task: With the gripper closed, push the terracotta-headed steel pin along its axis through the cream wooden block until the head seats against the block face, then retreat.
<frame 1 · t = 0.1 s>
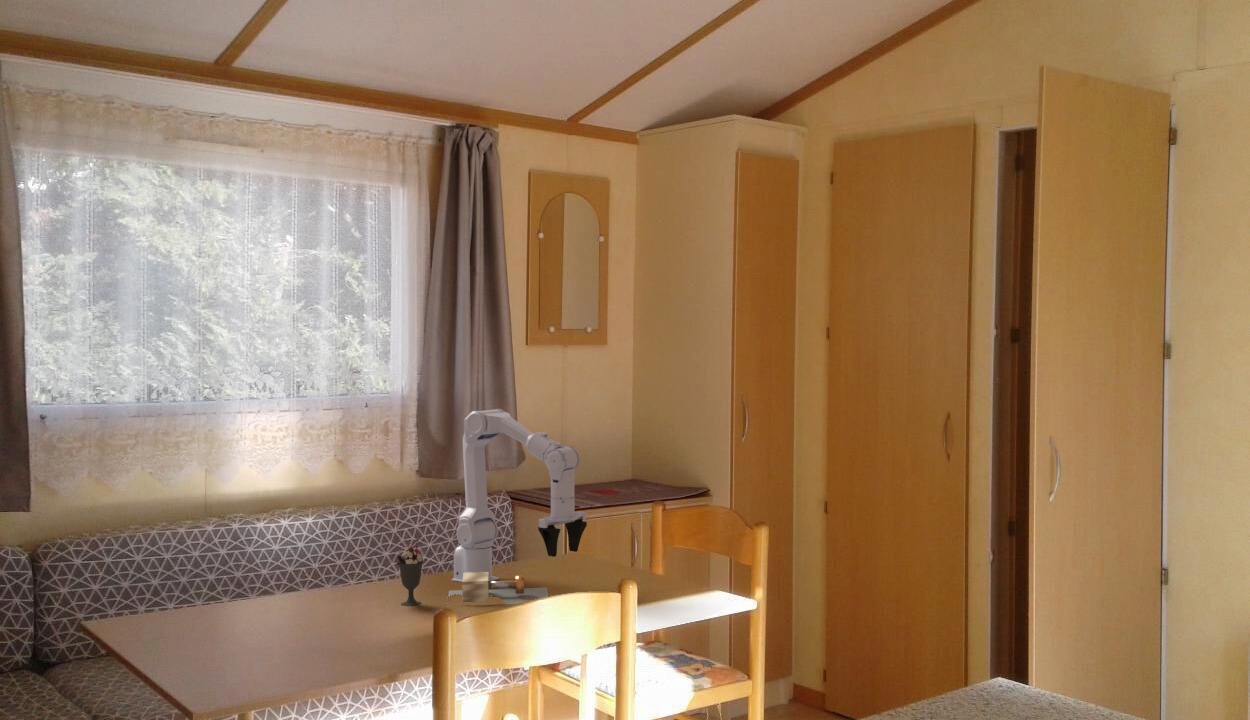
hand: (562, 553, 272), 10 cm above the table, fingers open, 7 cm apart
sundae: (411, 605, 264), on the table
hitch block: (475, 597, 269), resting on mat
mat: (498, 597, 270), on the table
pin: (503, 585, 270), point 3 cm above the table, slide at 0.0 cm
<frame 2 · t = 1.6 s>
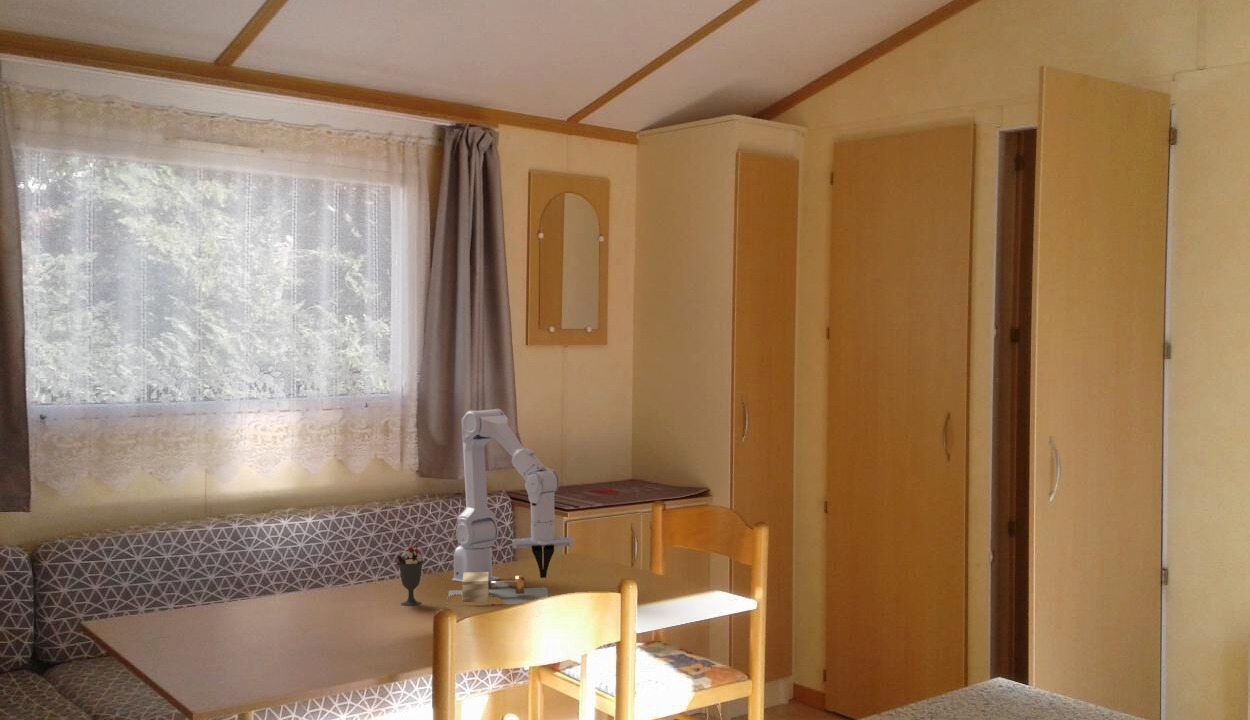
hand: (543, 577, 271), 5 cm above the table, fingers closed
nothing on the table moved.
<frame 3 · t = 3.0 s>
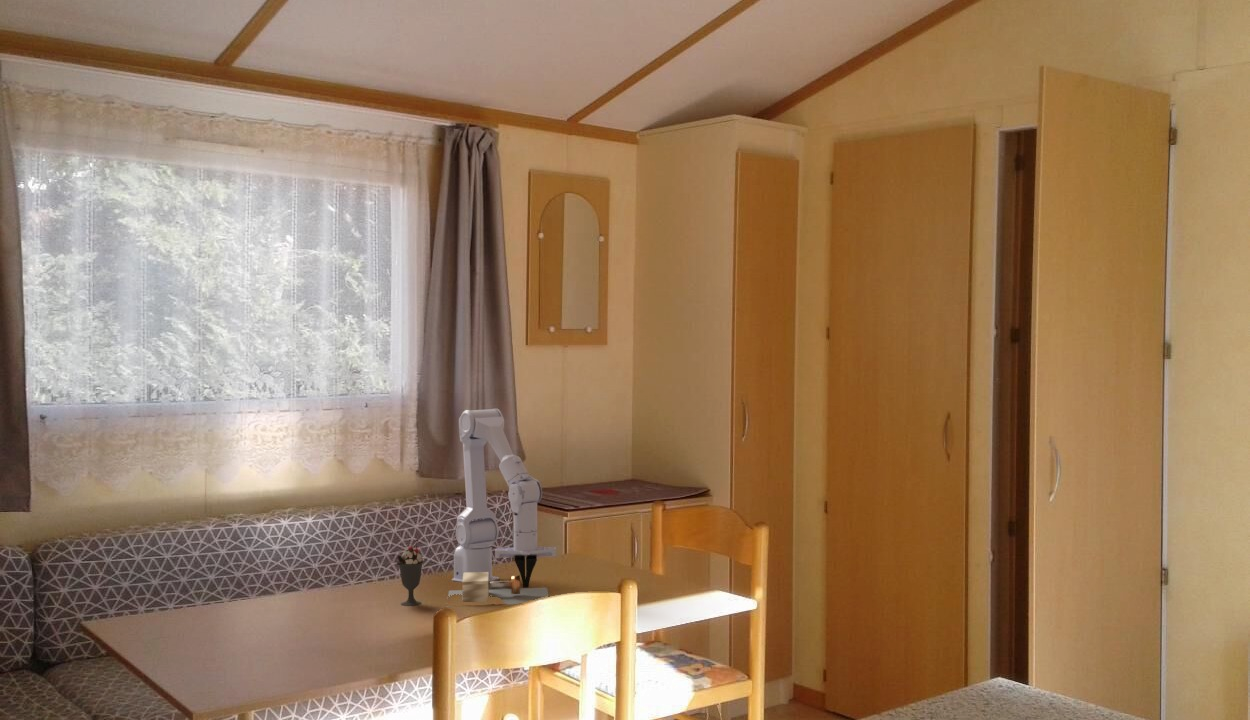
hand: (525, 586, 271), 2 cm above the table, fingers closed
pin: (498, 585, 270), point 3 cm above the table, slide at 1.0 cm, touching gripper
everything else where it was.
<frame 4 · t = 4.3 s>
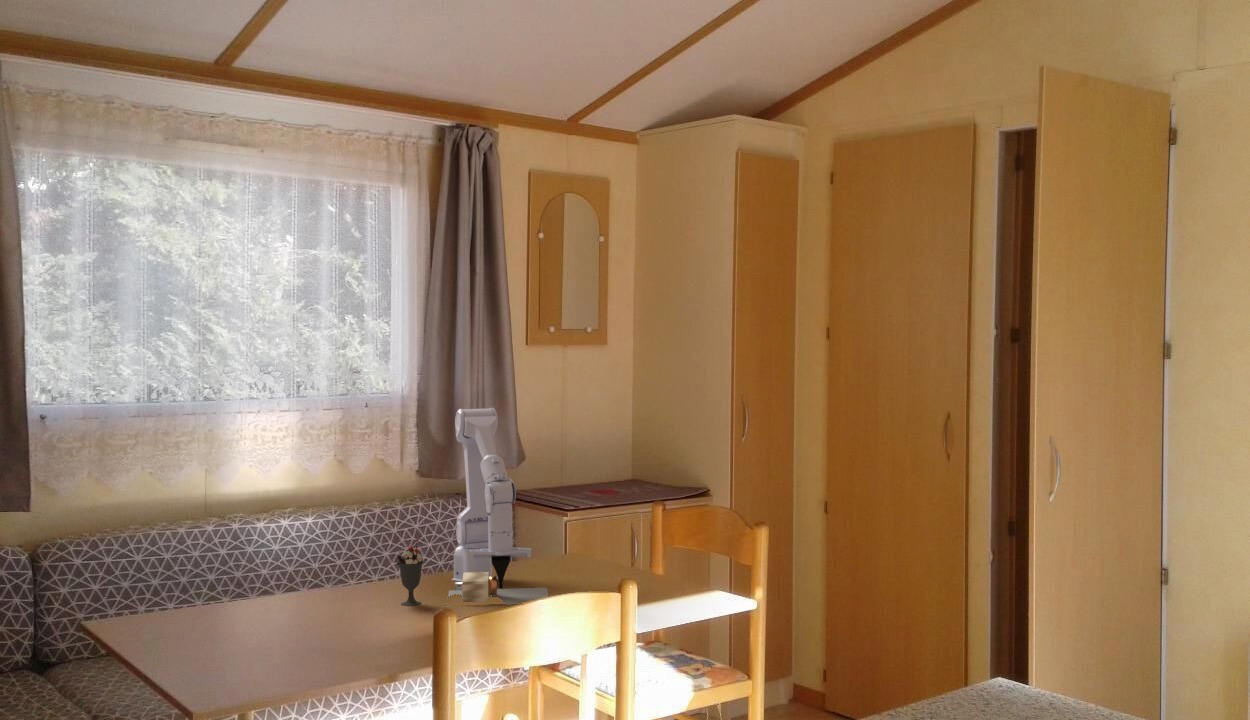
hand: (500, 587, 270), 2 cm above the table, fingers closed
pin: (475, 585, 269), point 3 cm above the table, slide at 6.5 cm, touching gripper, hitch block
everything else where it was.
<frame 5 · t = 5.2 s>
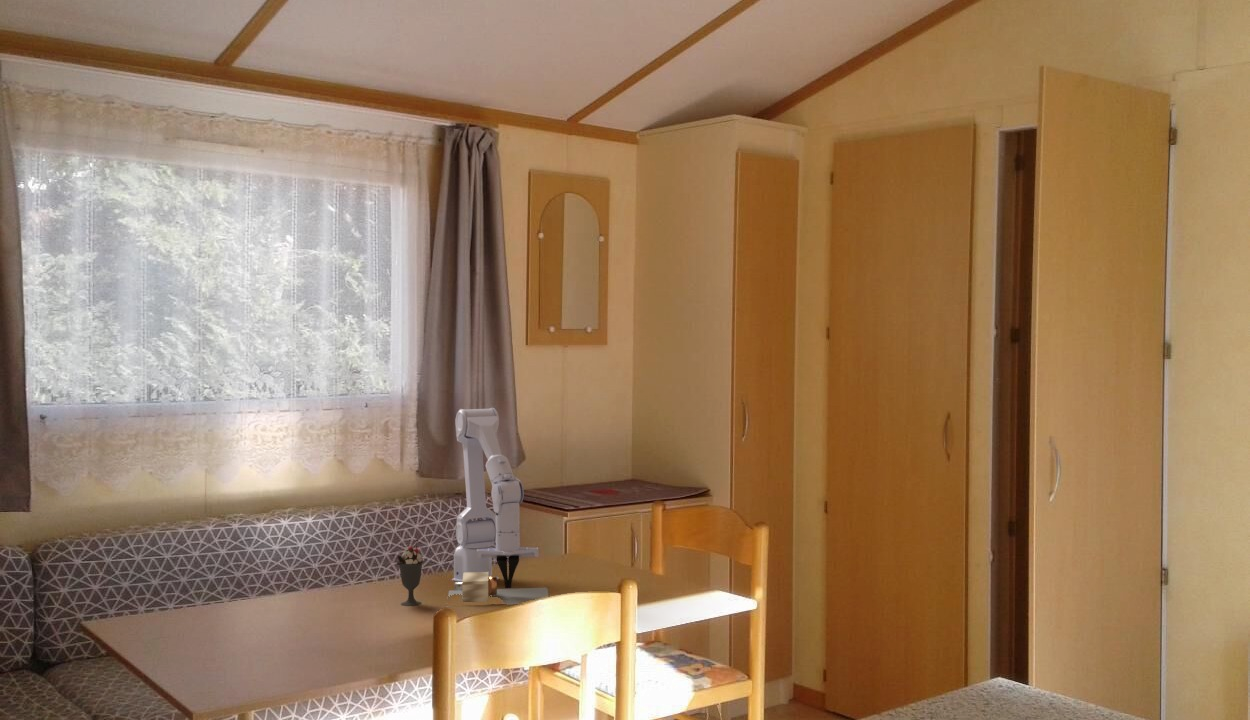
hand: (508, 587, 270), 2 cm above the table, fingers closed
pin: (475, 585, 269), point 3 cm above the table, slide at 6.5 cm, touching hitch block
everything else where it was.
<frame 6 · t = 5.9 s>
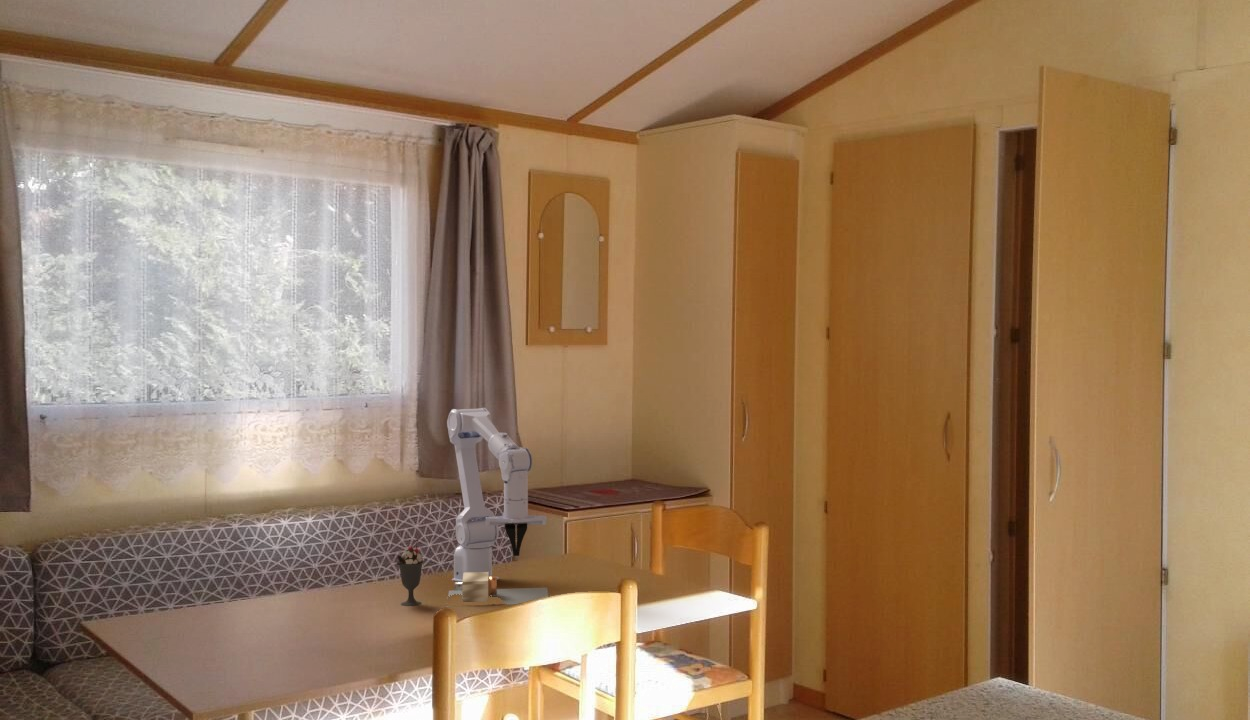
hand: (516, 555, 271), 10 cm above the table, fingers closed
nothing on the table moved.
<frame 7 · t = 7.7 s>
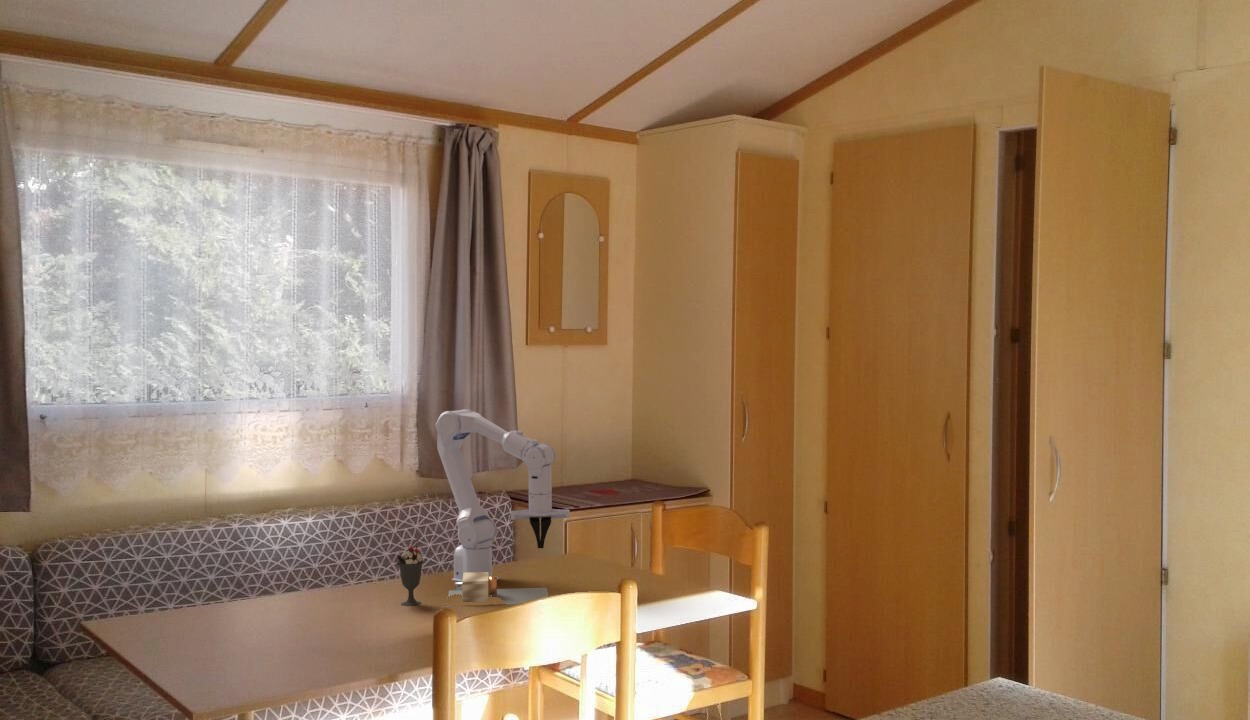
hand: (540, 547, 280), 10 cm above the table, fingers closed
nothing on the table moved.
at the end: pin slide at 6.5 cm; the gripper is holding nothing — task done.
